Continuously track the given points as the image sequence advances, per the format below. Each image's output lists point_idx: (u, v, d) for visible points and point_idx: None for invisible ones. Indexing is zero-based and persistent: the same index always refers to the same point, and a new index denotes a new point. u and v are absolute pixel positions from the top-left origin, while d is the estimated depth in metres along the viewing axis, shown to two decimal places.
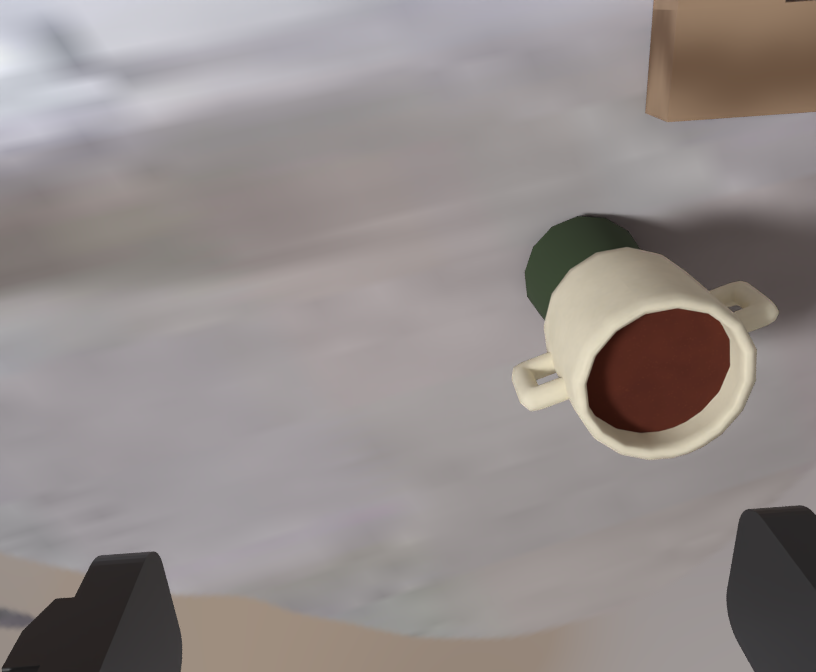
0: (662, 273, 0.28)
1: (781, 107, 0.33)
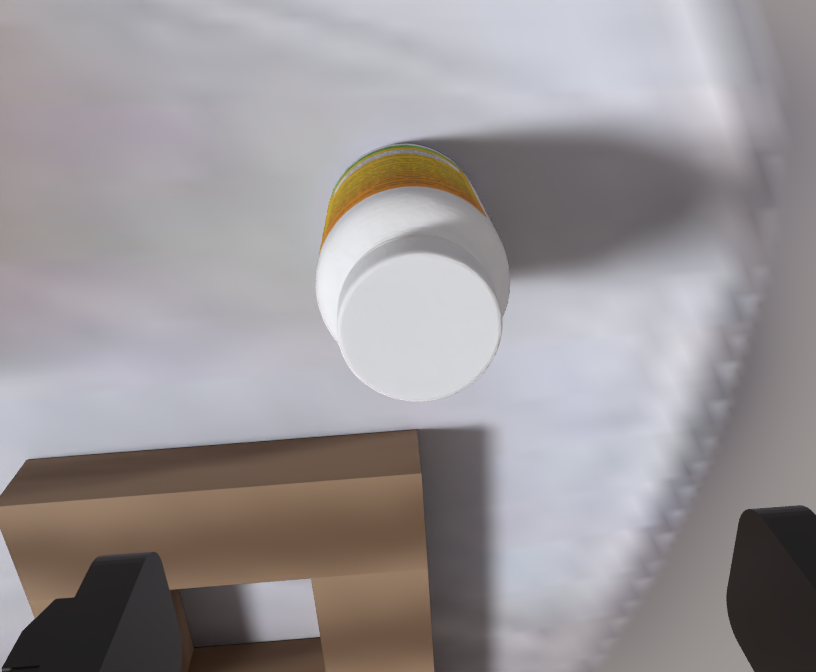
0: None
1: None
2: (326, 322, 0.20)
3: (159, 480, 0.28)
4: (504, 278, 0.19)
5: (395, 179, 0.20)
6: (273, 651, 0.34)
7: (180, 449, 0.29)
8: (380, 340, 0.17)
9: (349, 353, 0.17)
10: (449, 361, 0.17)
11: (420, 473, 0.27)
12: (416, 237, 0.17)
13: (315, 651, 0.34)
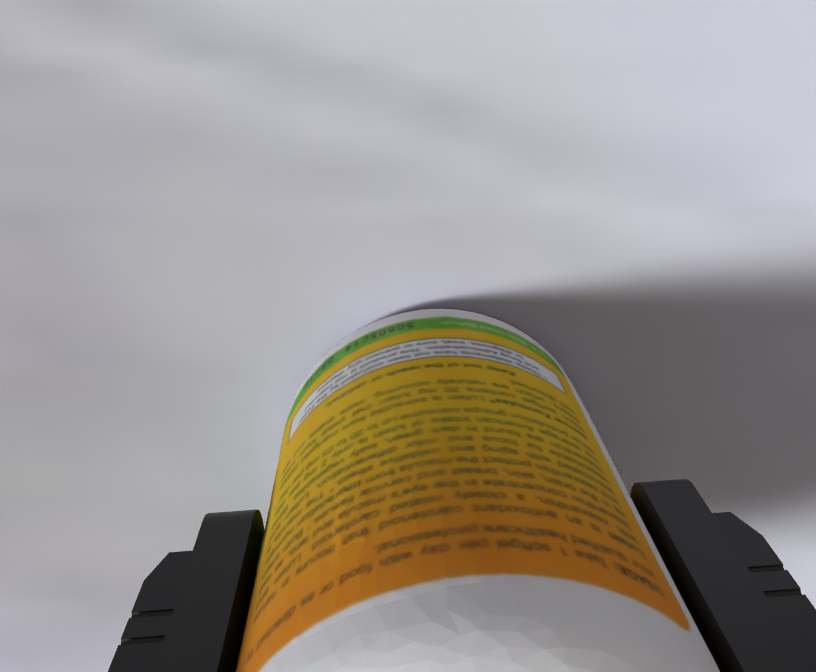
0: None
1: None
2: None
3: None
4: None
5: (435, 510, 0.07)
6: None
7: None
8: None
9: None
10: None
11: None
12: None
13: None
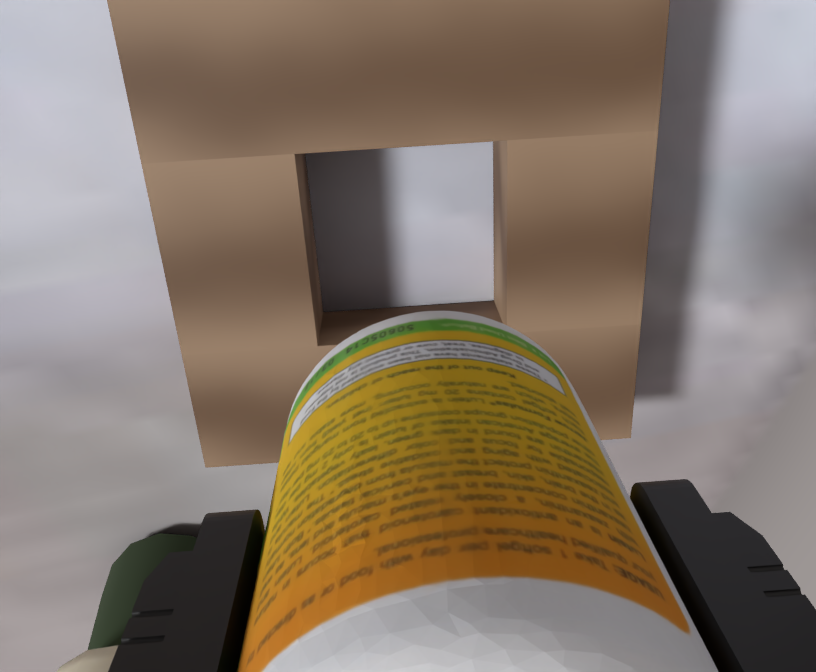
0: None
1: None
2: None
3: None
4: None
5: (436, 513, 0.07)
6: None
7: None
8: None
9: None
10: None
11: None
12: None
13: (477, 309, 0.27)
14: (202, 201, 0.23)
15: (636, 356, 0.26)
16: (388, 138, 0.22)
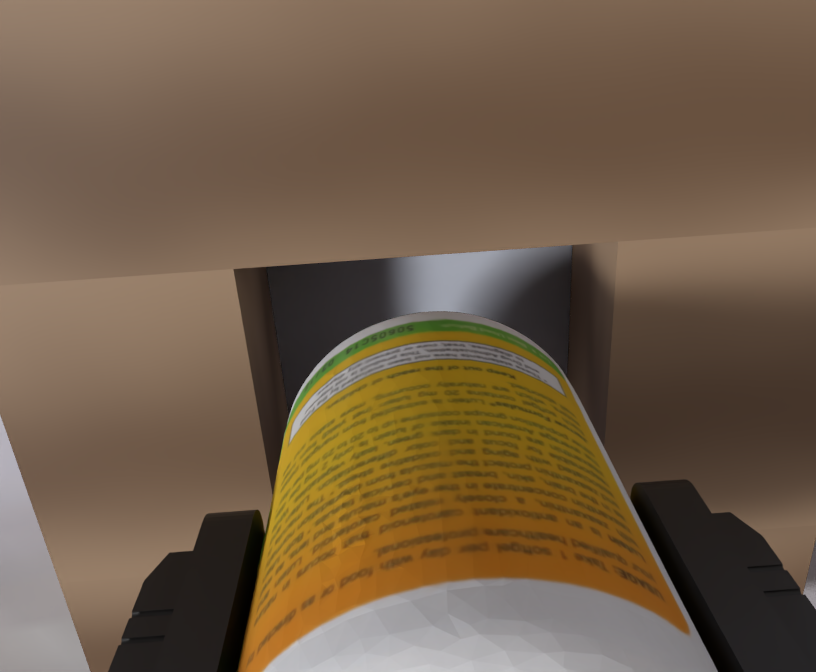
0: None
1: None
2: None
3: None
4: None
5: (436, 514, 0.07)
6: None
7: None
8: None
9: None
10: None
11: None
12: None
13: None
14: (73, 348, 0.13)
15: (806, 570, 0.16)
16: (403, 240, 0.12)
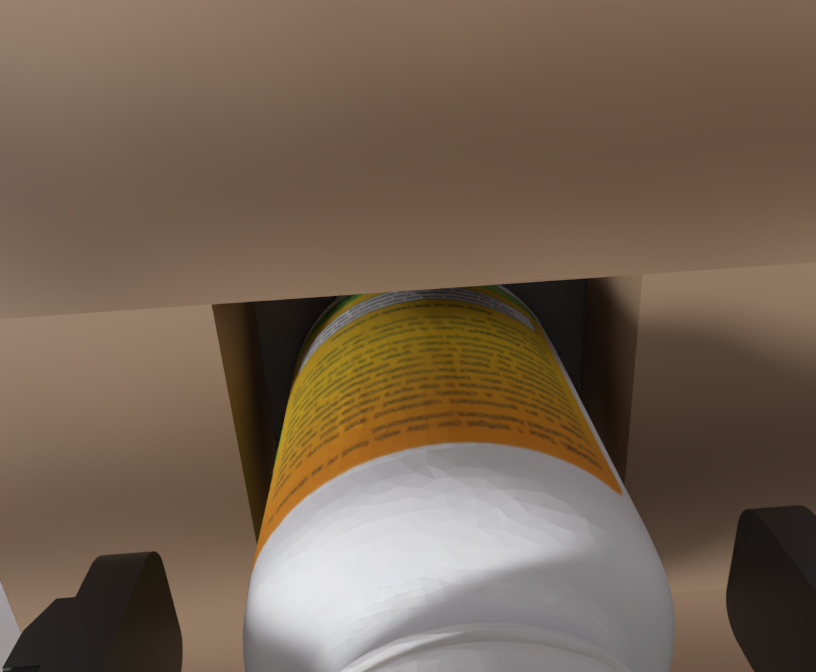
0: None
1: None
2: None
3: None
4: (669, 646, 0.08)
5: (420, 403, 0.09)
6: None
7: None
8: None
9: None
10: None
11: None
12: (484, 652, 0.06)
13: None
14: (33, 391, 0.11)
15: None
16: (402, 273, 0.11)
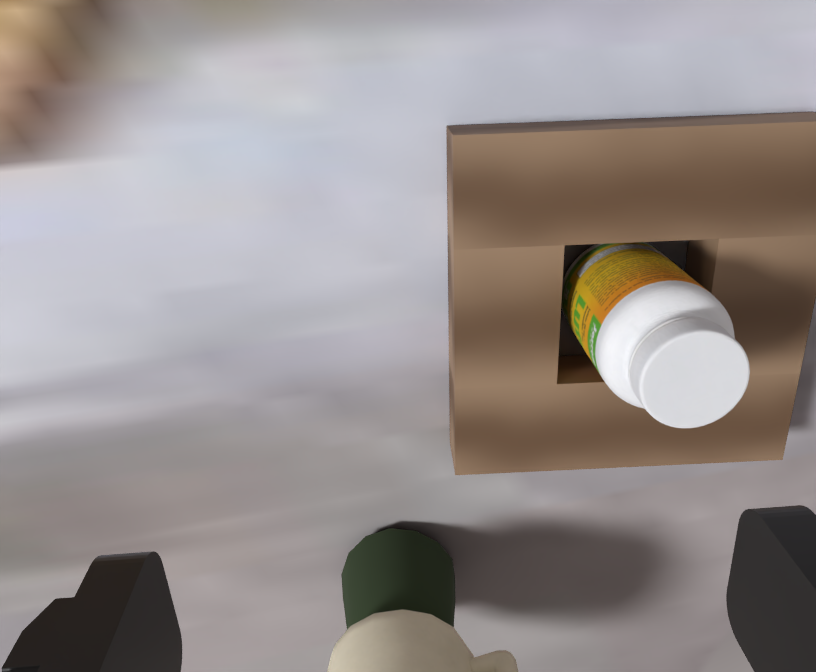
0: (412, 671, 0.30)
1: (563, 465, 0.35)
2: (605, 371, 0.28)
3: (597, 126, 0.29)
4: None
5: (653, 273, 0.29)
6: None
7: (591, 120, 0.31)
8: (668, 387, 0.26)
9: (645, 394, 0.26)
10: (710, 401, 0.26)
11: None
12: (693, 319, 0.26)
13: None
14: (492, 276, 0.31)
15: (794, 397, 0.34)
16: (633, 235, 0.30)
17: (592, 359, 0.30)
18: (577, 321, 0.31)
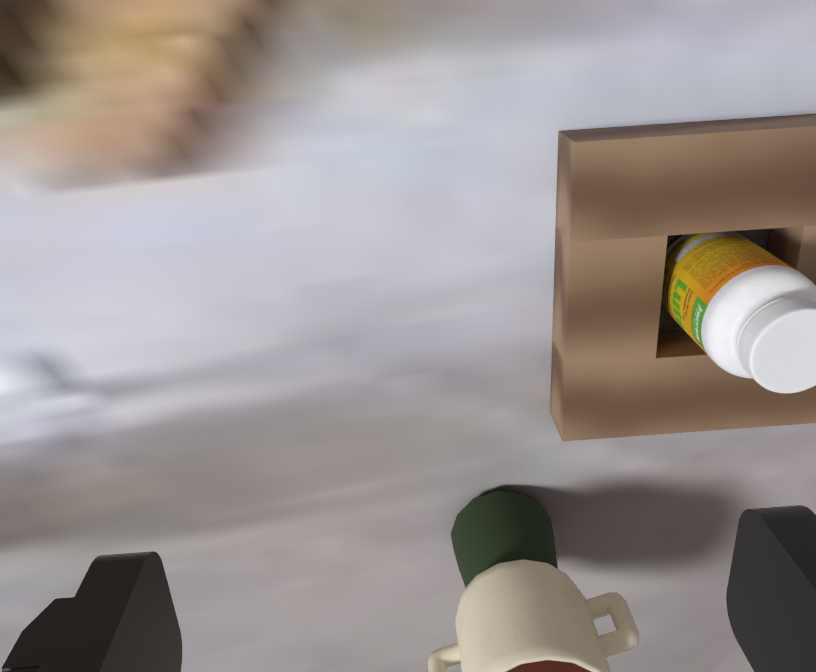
0: (543, 610, 0.34)
1: (658, 429, 0.39)
2: (712, 345, 0.32)
3: (698, 130, 0.33)
4: None
5: (752, 259, 0.33)
6: None
7: None
8: (774, 358, 0.30)
9: (755, 365, 0.30)
10: (810, 370, 0.30)
11: None
12: (796, 299, 0.30)
13: None
14: (603, 265, 0.35)
15: None
16: (729, 225, 0.34)
17: (695, 335, 0.34)
18: (677, 302, 0.35)
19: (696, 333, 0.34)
